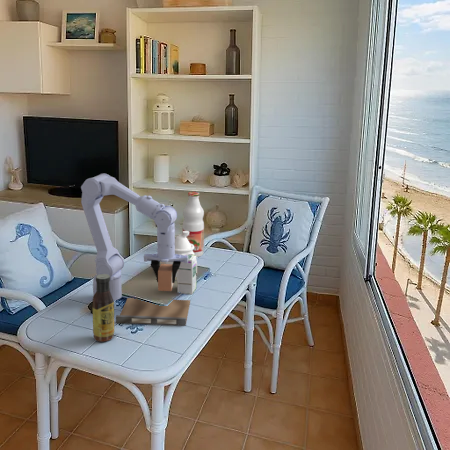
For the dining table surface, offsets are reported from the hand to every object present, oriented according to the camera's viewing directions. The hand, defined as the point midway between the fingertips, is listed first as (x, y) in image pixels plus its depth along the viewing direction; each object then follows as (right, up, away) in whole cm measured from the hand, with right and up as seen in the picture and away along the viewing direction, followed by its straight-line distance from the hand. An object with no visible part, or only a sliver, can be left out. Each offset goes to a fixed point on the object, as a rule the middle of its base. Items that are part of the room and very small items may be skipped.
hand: (166, 281), depth 167 cm
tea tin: (0, -2, +1) cm, 2 cm away
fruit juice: (+6, +6, +54) cm, 54 cm away
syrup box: (+6, -6, +14) cm, 17 cm away
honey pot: (+2, -1, +32) cm, 32 cm away
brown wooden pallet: (-3, -11, -2) cm, 11 cm away
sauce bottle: (-17, -15, -17) cm, 28 cm away
